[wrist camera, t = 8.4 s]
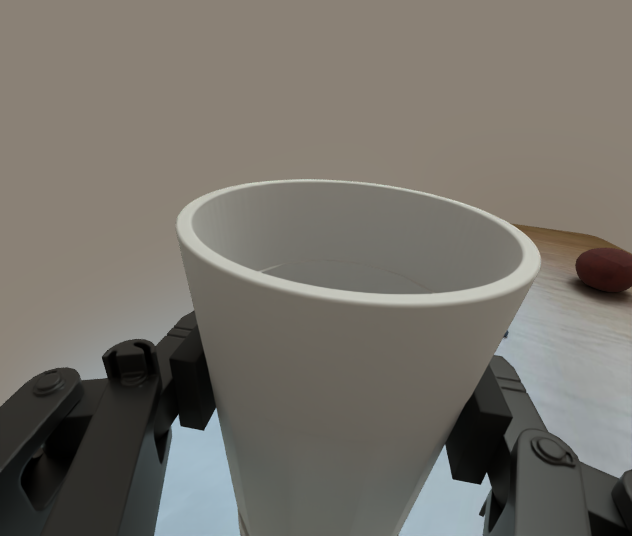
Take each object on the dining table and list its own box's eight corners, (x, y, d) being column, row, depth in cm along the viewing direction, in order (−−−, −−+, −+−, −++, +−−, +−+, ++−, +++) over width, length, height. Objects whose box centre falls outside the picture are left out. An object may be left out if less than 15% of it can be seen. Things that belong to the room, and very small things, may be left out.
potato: (553, 275, 52) (568, 239, 49) (600, 275, 53) (618, 240, 50) (593, 299, 45) (613, 260, 43) (646, 300, 46) (669, 261, 44)
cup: (453, 642, 10) (668, 315, 5) (186, 647, 10) (83, 292, 4) (392, 418, 17) (448, 186, 12) (237, 414, 17) (222, 173, 11)
